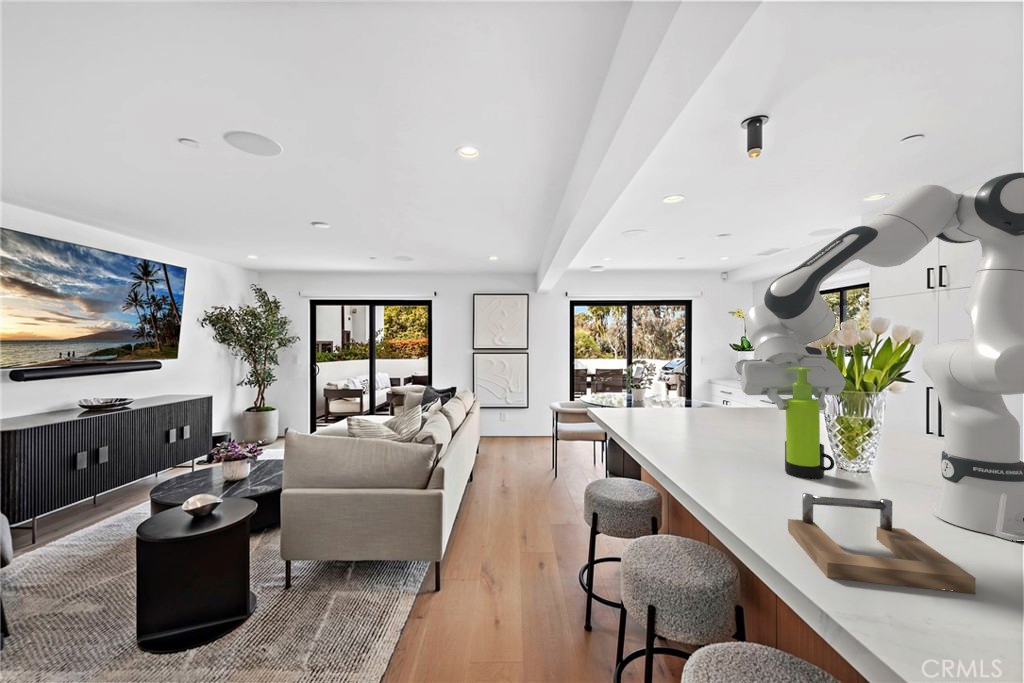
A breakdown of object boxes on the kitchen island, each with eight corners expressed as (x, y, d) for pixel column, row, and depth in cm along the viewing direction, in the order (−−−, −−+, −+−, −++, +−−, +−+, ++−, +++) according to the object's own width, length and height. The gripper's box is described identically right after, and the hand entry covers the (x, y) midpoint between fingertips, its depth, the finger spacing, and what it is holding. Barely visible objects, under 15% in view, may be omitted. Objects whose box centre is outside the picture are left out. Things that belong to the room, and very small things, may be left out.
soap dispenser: (803, 457, 97) (802, 366, 97) (826, 466, 90) (826, 368, 90) (777, 457, 97) (776, 366, 97) (798, 466, 90) (797, 368, 90)
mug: (828, 484, 119) (828, 450, 119) (779, 473, 129) (779, 442, 128) (839, 477, 125) (839, 445, 125) (792, 467, 134) (792, 438, 134)
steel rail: (888, 527, 86) (889, 499, 86) (894, 531, 85) (894, 502, 85) (800, 519, 90) (801, 492, 90) (804, 523, 88) (804, 496, 88)
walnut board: (903, 541, 86) (903, 528, 86) (975, 593, 68) (975, 577, 68) (787, 531, 91) (787, 519, 91) (827, 577, 73) (827, 562, 73)
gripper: (736, 351, 102) (754, 399, 92) (832, 349, 99) (862, 399, 89) (729, 369, 106) (746, 417, 97) (822, 367, 104) (848, 417, 94)
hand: (802, 408), depth 93 cm, fingers closed on soap dispenser, 6 cm apart
